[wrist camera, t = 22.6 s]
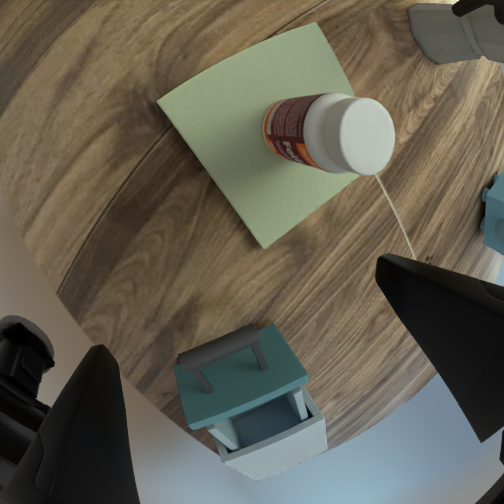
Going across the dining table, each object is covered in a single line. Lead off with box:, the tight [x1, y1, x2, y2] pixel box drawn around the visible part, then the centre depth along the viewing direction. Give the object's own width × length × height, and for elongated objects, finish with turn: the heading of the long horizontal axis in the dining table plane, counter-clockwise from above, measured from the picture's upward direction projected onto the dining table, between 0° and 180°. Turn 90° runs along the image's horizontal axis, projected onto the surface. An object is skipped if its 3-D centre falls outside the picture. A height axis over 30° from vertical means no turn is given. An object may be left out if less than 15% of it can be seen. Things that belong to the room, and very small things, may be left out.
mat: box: [157, 22, 360, 250], centre depth 19 cm, size 14×14×1 cm
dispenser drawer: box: [174, 323, 309, 452], centre depth 24 cm, size 19×11×7 cm, turn 16°
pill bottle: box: [262, 92, 395, 176], centre depth 15 cm, size 5×5×8 cm
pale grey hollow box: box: [213, 384, 327, 481], centre depth 30 cm, size 15×12×9 cm
